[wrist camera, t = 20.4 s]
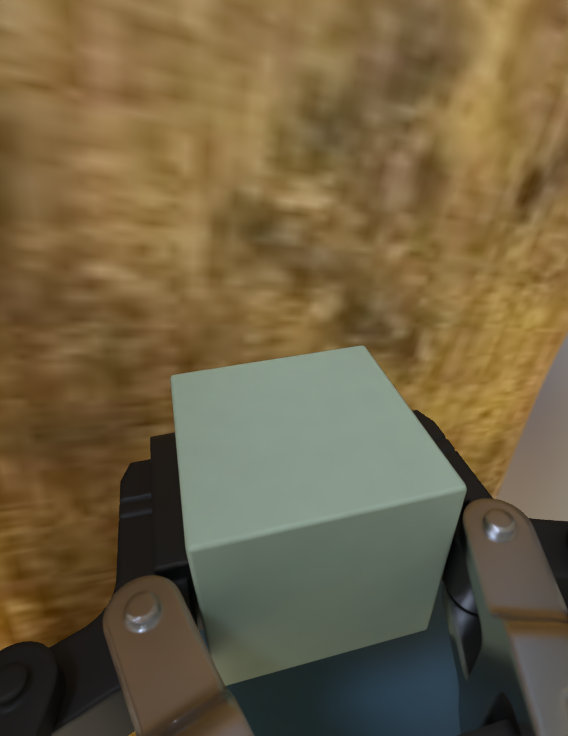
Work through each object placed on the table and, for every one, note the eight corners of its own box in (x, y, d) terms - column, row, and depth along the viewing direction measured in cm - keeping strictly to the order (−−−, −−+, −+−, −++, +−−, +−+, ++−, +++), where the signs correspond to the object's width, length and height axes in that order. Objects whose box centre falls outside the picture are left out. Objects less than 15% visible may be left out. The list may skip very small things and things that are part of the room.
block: (169, 373, 11) (184, 551, 7) (364, 343, 12) (470, 487, 8) (196, 509, 13) (217, 690, 10) (353, 476, 14) (428, 630, 10)
